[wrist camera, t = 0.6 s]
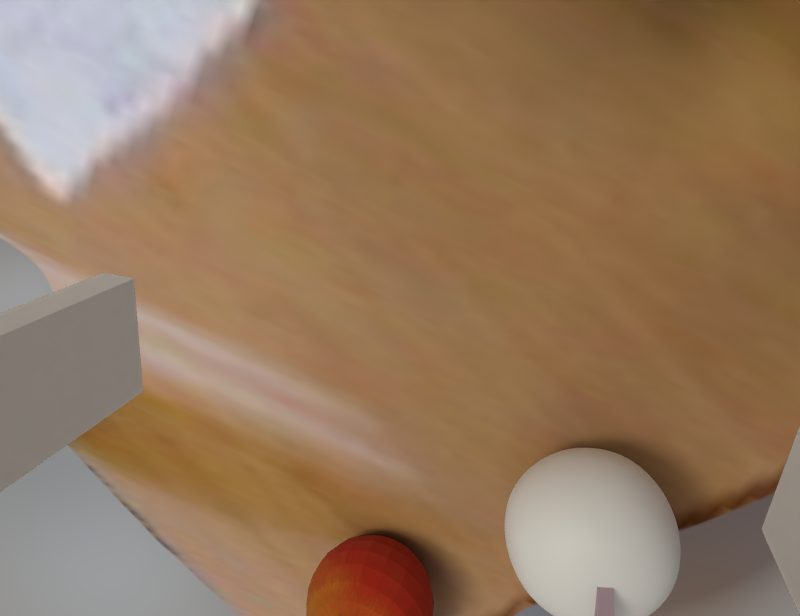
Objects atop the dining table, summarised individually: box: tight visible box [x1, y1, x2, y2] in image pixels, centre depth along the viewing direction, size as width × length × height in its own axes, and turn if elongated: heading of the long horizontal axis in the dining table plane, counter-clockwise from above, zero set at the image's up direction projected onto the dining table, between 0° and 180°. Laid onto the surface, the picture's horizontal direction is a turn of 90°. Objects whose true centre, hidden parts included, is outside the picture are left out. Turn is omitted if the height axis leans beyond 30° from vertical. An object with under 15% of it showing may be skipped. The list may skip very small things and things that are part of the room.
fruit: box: [307, 535, 434, 616], centre depth 44 cm, size 10×10×10 cm
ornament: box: [505, 448, 681, 616], centre depth 37 cm, size 10×10×12 cm
